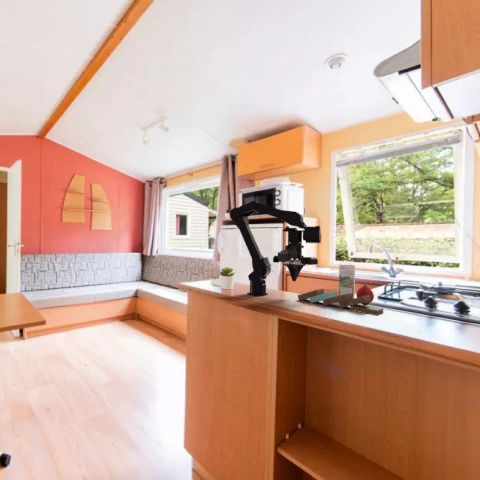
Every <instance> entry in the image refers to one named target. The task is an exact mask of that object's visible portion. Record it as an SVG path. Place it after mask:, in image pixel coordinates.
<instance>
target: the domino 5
mask: <svg viewBox="0 0 480 480" xmlns="http://www.w3.org/2000/svg"><path fill="white" fill-rule="evenodd" d="M349 310H350V311H352V310H356V311H355V312H358V311H361V312H360V313H363V312H366V313H365V314H369V313H372V314H371V315H375V314H377V315H376V316H379V315H381V314H383V313H384V308H383V307H376V306H370V305H367V306H365V305H363V304H356V305H352V306H349ZM378 314H379V315H378Z"/></svg>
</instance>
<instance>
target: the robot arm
mask: <svg viewBox="0 0 480 480" xmlns="http://www.w3.org/2000/svg"><path fill="white" fill-rule="evenodd" d="M256 212H260V213H262V214H265V215H268V216H271V217H274V218H277V219H279V220H281V221H282V222H284V223H285V224H287V225H286V226H285V228H283V230H282V232H284V233H287V245H285V246H284V249H283V250H281V251H279V252H277V255H273V257H272V262H273V263H276V264H277V263H283V265H284V266H285V267H287V269H288V271H289V274H290V277H291V280H292V282H297V279H298V278H299V275H300V273H301V271H302V270H303V268H304V267H306V266H307V265H308V266H312V265H316V266H317V265H319V262H318V261H319V260H318V258H317V257H315V256H304V255H303V249H304V248H305V247H304V245H303V241H305V243H306V244H321V243H322V234H321V233H322V232H321V226H320V225H315V226H307V224H306V223H305V222H304V217H303V215H302V214H301V213H299V212H298V211H293V210H286V209H280V208H276V207H273V206H269V205H267V204H265V203H260V202H259V201H257V200H252V201H250V202H248V203H245V204H243V205H239V206H238V207H233V208H232V209H231V210H230V212H229V218H230V219H231V220H232V222H233V224H234V225H235V226H236V227H237V228H238V230H239V231H240V235H241V236H242V239H243V241H244V243H245V245H246V248H247V251H248V252H249V255H250V257H251V267H252V272H250V273H249V274H248V276H247V277H248V281H249V292H246V294H247V295H252V296H258V297H261V296H267V295H268V294H269V293H268V292H267V284H266V283H267V281H266V279H267V277H268V276H270V274H271V272H272V264H271V263H270V261H269V258H268V256H266V257H264V255H262V253H261V251H260V249H259V247H258V244H257V242H256V238H255V237H254V234H253V232H252V230H251V227H250V224H249V223H250V221H249V217H250V216H252V215H253V214H254V213H256ZM288 225H289V226H290V227H289V226H288ZM291 226H292V227H291ZM299 229H300V230H299Z"/></svg>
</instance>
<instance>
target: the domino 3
mask: <svg viewBox="0 0 480 480" xmlns="http://www.w3.org/2000/svg"><path fill="white" fill-rule="evenodd" d="M350 299H353V297H352V294H351V293H349V294H344V295H340V296H339V295H338V296H336V297H332V298H328V299H324V300H322V303H323V306H328V305H333V304H337V303H339V302H342V301H346V300H350Z"/></svg>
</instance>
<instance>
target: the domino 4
mask: <svg viewBox="0 0 480 480" xmlns="http://www.w3.org/2000/svg"><path fill="white" fill-rule="evenodd" d="M369 301H371V298H370V295H367V296H363V297H358V298H357V297H355V298H354V299H350V300H346V301H342V302H338V304H339V306H340V308H341V309H342V308H347V307H350V306H352V305H356V304H359V305H362V304H361V303H365V302H369Z"/></svg>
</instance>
